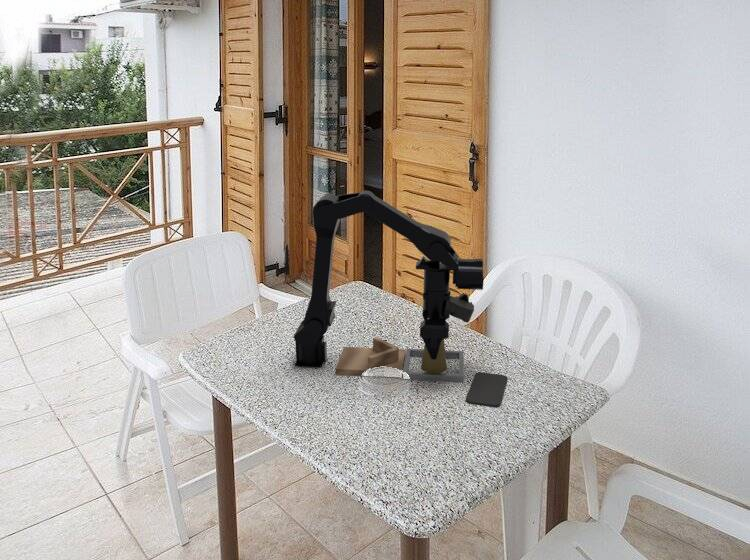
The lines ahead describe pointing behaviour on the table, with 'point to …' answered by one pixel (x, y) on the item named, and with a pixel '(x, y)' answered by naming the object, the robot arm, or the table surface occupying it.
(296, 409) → the table surface
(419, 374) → the steel collar
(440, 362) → the cork
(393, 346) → the dog kennel
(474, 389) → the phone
